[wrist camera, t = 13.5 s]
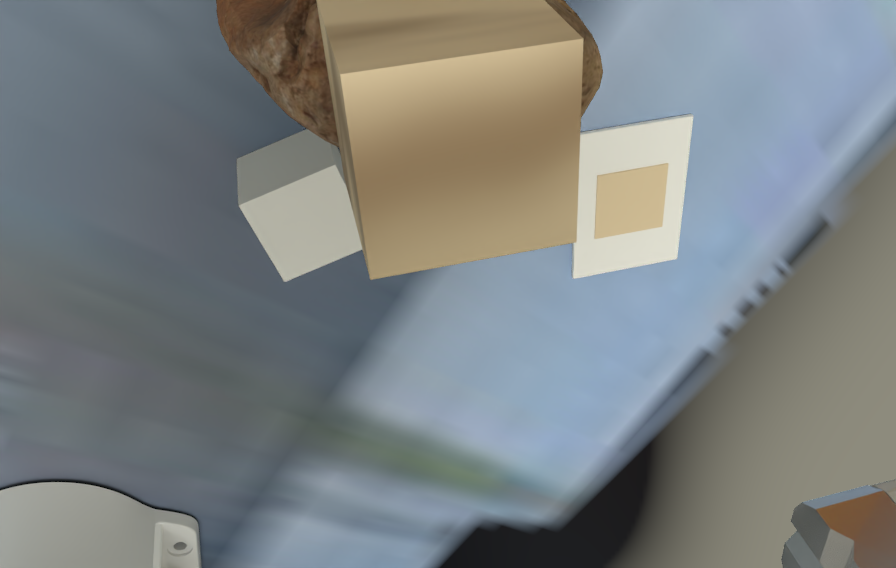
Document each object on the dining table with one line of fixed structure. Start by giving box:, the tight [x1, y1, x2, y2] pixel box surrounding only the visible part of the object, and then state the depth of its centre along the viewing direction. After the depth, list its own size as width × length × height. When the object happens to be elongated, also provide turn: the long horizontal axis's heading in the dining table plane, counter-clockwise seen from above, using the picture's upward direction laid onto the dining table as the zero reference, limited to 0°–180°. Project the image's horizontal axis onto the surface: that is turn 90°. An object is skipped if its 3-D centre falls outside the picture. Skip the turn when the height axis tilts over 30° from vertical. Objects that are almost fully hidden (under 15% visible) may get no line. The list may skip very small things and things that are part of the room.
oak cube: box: [316, 0, 584, 280], centre depth 20 cm, size 5×5×5 cm
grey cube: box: [237, 129, 362, 282], centre depth 43 cm, size 5×5×5 cm
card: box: [572, 114, 693, 279], centre depth 51 cm, size 10×7×1 cm
